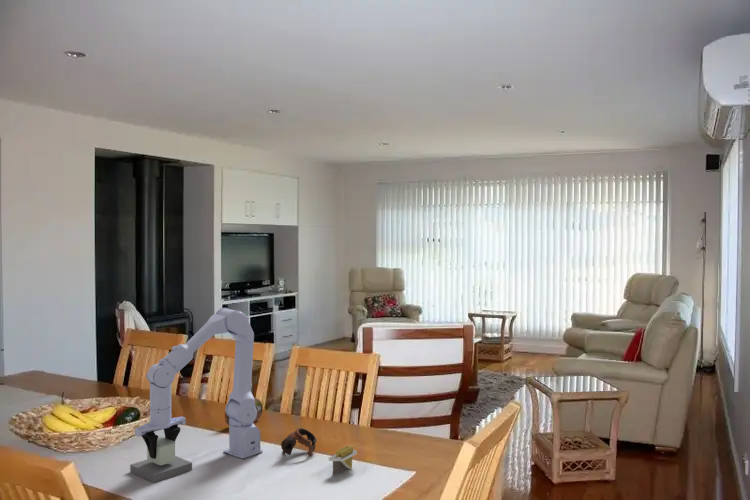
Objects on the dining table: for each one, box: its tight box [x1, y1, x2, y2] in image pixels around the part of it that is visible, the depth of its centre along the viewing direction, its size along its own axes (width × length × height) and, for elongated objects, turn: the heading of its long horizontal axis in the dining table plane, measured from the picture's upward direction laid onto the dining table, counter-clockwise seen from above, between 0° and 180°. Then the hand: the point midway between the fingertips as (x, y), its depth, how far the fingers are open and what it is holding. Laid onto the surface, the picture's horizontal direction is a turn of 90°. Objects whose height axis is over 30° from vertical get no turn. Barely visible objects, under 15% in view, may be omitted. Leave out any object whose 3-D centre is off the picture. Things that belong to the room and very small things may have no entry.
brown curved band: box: [280, 427, 318, 457], centre depth 188 cm, size 12×10×8 cm
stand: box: [129, 455, 193, 484], centre depth 175 cm, size 12×12×2 cm
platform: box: [328, 444, 358, 475], centre depth 175 cm, size 12×18×7 cm, turn 146°
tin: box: [224, 397, 263, 426], centre depth 218 cm, size 15×3×8 cm, turn 141°
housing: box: [146, 435, 176, 466], centre depth 175 cm, size 4×7×6 cm, turn 50°
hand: (161, 455), depth 175 cm, fingers closed on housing, 4 cm apart
